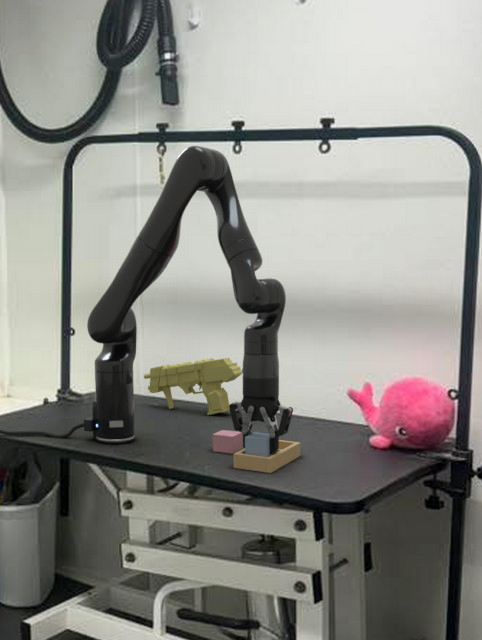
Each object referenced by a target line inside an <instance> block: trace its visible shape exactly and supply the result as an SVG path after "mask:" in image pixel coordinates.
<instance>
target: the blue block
mask: <svg viewBox="0 0 482 640" xmlns="http://www.w3.org/2000/svg"><path fill="white" fill-rule="evenodd" d="M251 433H252V434H250V435H248V436H246V437H245V454H248V455H256V456H263V457H269V456H271V454H270V434H269V433H267V432H266V433H265V432H259V431H258V432H256V431H254V432H251Z"/></svg>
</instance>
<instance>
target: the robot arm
mask: <svg viewBox="0 0 482 640" xmlns="http://www.w3.org/2000/svg"><path fill="white" fill-rule="evenodd" d="M197 191H199V192H203V193H204V194H205V196H206V197H207V199H209V201H210V204H211V205H212V207H213V210H214V212H215V213H214V214H215V217H216V233H217V240H218V245H219V248H220V250H221V252H222V254H223V257H224V259H225V262H226V264H227V267H228V268H229V270H230V277H231V283H232V289H233V291H232V292H233V297H234V301H235V303H236V305H237V306H238V307H239V308H240V310H241V311H242V312H243V313H245V314H248V315H256V318H255V319H254V320H255V321H254V322H253V323H252V324H249V325H247V326H246V327H244V331H243V358H242V369H241V370H242V399H241V401H239V402H238V401H234V402H231V403H229V408H230V410H229V412H230V416H231V421H232V425H233V430H234V431H236V432H242V449H244V448H245V437H246V436H248V435H250V434H252V433H253V432H252V431H253V428H254V425H255V423H256V422H258V421H259V422H261V423H264V425H265V428H266V429H267V432H268V434H270V454H271V455H273V454H275V453H276V452H277V451H278V449H279V440H280V437H282V436H284V435H286V434H287V433H288V432H289V428H290V424H291V421H292V417H293V413H294V408H293V406H288V407H287V406H284V405H281V402H280V400H279V399H280V398H279V397H280V361H279V353H278V352H279V331H280V328H281V325H282V320H283V316H284V312H285V307H286V302H287V300H286V299H287V296H286V291H285V290H286V289H285V288H284V285H283V284H282V282H281V281H279V280H278V279H276V278H272V277H271V278H270V277H269V278H268V277H267V278H260V279H258V277H257V276H256V271H258V270H259V269H260V268H261V267H262V265H263V257H262V255H261V252H260V249H259V248H258V245H257V243H256V241H255V238H254V237H253V234H252V232H251V230H250V228H249V226H248V223H247V221H246V218H245V214H244V213H243V209H242V206H241V203H240V199H239V196H238V192H237V188H236V185H235V182H234V177H233V173H232V169H231V166H230V164H229V161H228V159H227V157H226V155H224V154H223V153H222V152H221V151H220V150H219V151H218V150H216V149H212V148H208V147H204V146H200V145H191V146H189V147H187V148H185V149H183V150H182V152H181V153H180V154H179V155H178V157H177V158H176V160H175V162H174V164H173V166H172V168H171V169H170V172H169V175H168V178H167V179H166V182H165V184H164V187H163V188H162V191H161V193H160V195H159V197H158V199H157V201H156V202H155V205H154V206H153V208H152V210H151V212H150V214H149V216H148V217H147V220H146V221H145V223H144V225H143V226H142V228H141V229H140V231H139V233H138V234H137V236H136V237H135V240H134V241H133V243H132V245H131V246H130V248H129V251H128V253H127V255H126V257H125V258H124V260H123V262H122V263H121V264H120V267H119V269H118V270H117V272H116V273H115V275H114V278H113V279H112V281H111V283H110V284H109V286H108V287H107V289H106V290H105V292H104V293H103V294H102V295H101V297H100V298H99V300H98V301H97V302H96V304H95V305H94V307H93V308H92V310H91V311H90V313H89V314H88V318H87V324H86V327H87V332H88V335H89V337H90V338H91V340H92V341H93V342H95V343H97V344H102V347H101V348H102V349H101V351H100V352H99V354H98V355H97V357H96V358H95V360H94V390H95V400H93V401H92V402H91V407H92V408H91V409H92V410H91V411H92V413H91V414H92V416H90V417H87V418H85V419H83V423H79V424H77V425H74V426H73V427H72V428H71V429H70V430H69V431H68V432H67V433H64V434H56V433H51V432H47V431H40V430H39V431H38V430H37V431H36V430H26V431H25V430H24V431H22V430H21V431H20V430H19V431H17V430H16V431H12V430H11V431H10V430H9V431H8V430H3V429H0V434H2V435H8V436H37V435H38V436H45V437H49V438H55V439H66V438H69V437H70V436H71V435H73V434H74V432H75V431H77V430H78V429H81V428H83V431H84V432H89V433H90V432H92V439H93V440H94V441H97V442H98V443H103V444H111V445H112V444H113V445H114V444H115V445H116V444H117V445H119V444H126V443H130V442H133V441H135V439H136V435H135V397H134V396H135V395H134V391H135V390H134V389H135V388H134V363H135V359H136V357H137V342H138V341H137V340H138V339H137V338H138V337H137V335H138V331H137V330H138V327H137V325H138V323H137V317H136V314H135V312H134V310H133V309H132V307H133V305H134V304H135V302H136V301H137V299H138V298H140V296H141V295H142V294H143V293H144V292H145V291H146V290H147V289H148V288H149V287H151V286H152V284H153V283H154V282H155V281H156V280H158V278H159V277H160V276H161V275H162V274H163V272H164V271H165V270H166V269H167V268H168V267H167V266H168V265H169V263H170V261H171V260H172V259H173V257H174V255H175V253H176V251H177V250H178V247H179V245H180V244H179V243H180V237H181V231H182V230H181V229H182V219H183V215H184V213H185V211H186V209H187V207H188V206H189V203H190V202H191V201H192V198H193V197H194V196H195V194H196V193H197ZM242 410H243V411H244V412H245V414H246V415H245V417H244V419H243V415H242ZM278 412H279V416H280V417H281V418H280V422H279V425H278V420H277V417H276V414H277V413H278Z"/></svg>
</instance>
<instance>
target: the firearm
mask: <svg viewBox="0 0 482 640" xmlns="http://www.w3.org/2000/svg"><path fill="white" fill-rule="evenodd" d="M241 375H243V373H242V369H241V366H239V365H238V363H237V362H233V361H232V359H231V358H230V357H224V358H219V359H218V358H217V359H215V358H212V357H211V358H206V359H199V360H195V361H194V362H191V361H187V362H181V363H175V364H164V365H159V366H154V367H151V368H150V369H149V373H148V372H147V373H144V374H143V378H144V379H145V380H147V379H149V385H148V386H147V390H148V391H149V393H151V394H156V393H163V394H164V397H165V399H166V402H167V406H168V410H170V409H171V410H172V409H174V408H175V406H174V401H173V396H172V389H171V388H174V387H179V388H180V389H181V390H182V391H183V392H184V394H185V395H188V394H193V395H198V394H203V395H204V397H205V398H206V402H207V408H208V411H207V413H206V415H207V416H210V415H215V414H219V413H225V412H228V411H230V408H229V405H230V401H229V395H228V391H226V389H225V388H224V387H222V385H223V383H229V382H232V381H235V380H236V379H237V378H239V377H240V376H241ZM196 385H198V386H199V388H198V391H196V390H195V389H194V387H195V386H196Z"/></svg>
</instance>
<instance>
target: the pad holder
mask: <svg viewBox="0 0 482 640" xmlns="http://www.w3.org/2000/svg"><path fill="white" fill-rule="evenodd" d="M232 455H233V460H232V461H233V468H234V469H239V470H247V471H254V472H259V473H260V472H261V473H268V474H272V473H274V472H275V471H277V470H278V469H281V468H282V467H284V466H285V465H287V464H289V463H291V462H292V461H294V460H296V459H298V458H299V457H301V442H300V441H290V440H283V439H279V449H278V451H277V452H276V453H275V454H273V455H271V456H269V457H263V456H256V455H248V454H245V448H242V449H241V450H239V451H237V452H235V453H233V454H232Z"/></svg>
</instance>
